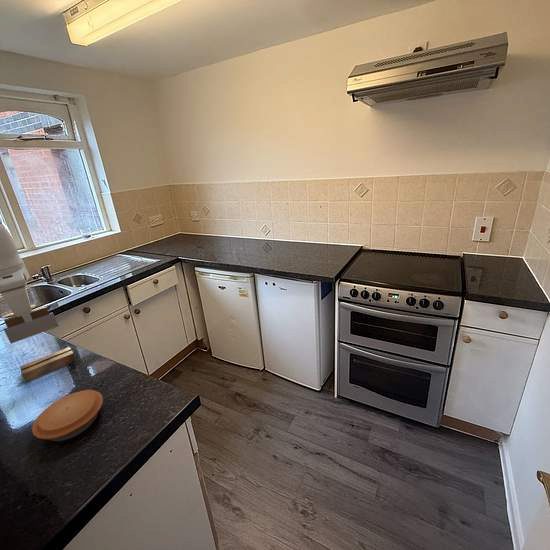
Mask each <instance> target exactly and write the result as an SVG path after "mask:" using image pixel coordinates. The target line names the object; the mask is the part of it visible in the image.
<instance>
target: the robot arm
mask: <svg viewBox="0 0 550 550" xmlns="http://www.w3.org/2000/svg"><path fill="white" fill-rule="evenodd" d="M30 278H31V276H30V273H29V271H28V269H27V267H26V264H25V262H24V260H23V259H22V258H21V256H20V255H19V251H18V246H17V243H16V241H15V239H14V237H13V235H12V233H11V232H10V230H9V229H8V227H7V226H6V224H4V223H3V222H2V221H1V220H0V295H1V297H2V299H3V300H4V302H5V303H6V305H7V306H8V308H9V309H10V311H11V312H12V313H13V316H16V317H20V316H22V317H23V319H24V321H25V322H30V321H32V317H31V315H30V313H31V312H32V310H33V308H32V304H31V301H30V298H29V294H28V290H27V285H28V281H29V279H30Z"/></svg>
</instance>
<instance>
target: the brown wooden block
mask: <svg viewBox="0 0 550 550" xmlns="http://www.w3.org/2000/svg"><path fill="white" fill-rule="evenodd" d="M30 315H31V317H32V321H30V322H25V321H24V319H23V317H22V316H20V317H16V316H15V315H13V316H10V317H7V318H3V321H4V323H5V325H6V327H4V328H3V332H4V333H5V335H6V337H7V339H8V341H9V343H10V344H11V345H12V344H14V343H17V342H20V341H23V340H26V339H29V338H32V337H34V336H36V335H40V334H42V333H44V332H47V331H50V330H52V329H55V328H58V327H60V326H59V323H58V320H57V319H56V317H55V314H54V312H53V311H52V312H49V310H48V307H47V306H46V305H44V306H41V307H38V308H35V309H32V312H31V313H30Z"/></svg>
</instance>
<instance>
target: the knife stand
mask: <svg viewBox="0 0 550 550" xmlns="http://www.w3.org/2000/svg"><path fill="white" fill-rule="evenodd" d="M76 361H77V358H76V357H75V354H74V352H73V349H72V348H71V346H68V347H65V348H62V349H60V350H58V351H55V352H53V353H50V354H48V355H45V356H42V357H40V358H38V359H34V360H32V361H30V362H27V363H25V364H22V365H20V366H19V369H20V375H21V377H22V379H23V381H24V383H27V382H30V381H32V380H34V379H36V378H40V377H41V376H44V375H46V374H48V373H50V372H53V371H55V370H58V369H60V368H63V367H65V366H67V365H69V364H72V363H74V362H76Z"/></svg>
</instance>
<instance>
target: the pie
mask: <svg viewBox="0 0 550 550" xmlns="http://www.w3.org/2000/svg"><path fill="white" fill-rule="evenodd" d="M103 404H104V396H103V395H102V393H101V392H99V391H97V390H93V389H85V390H80V391H76V392H73V393H71V394H68V395H65V396H63V397H61V398H60V399H58V400H56V401H54V402H52V403H51V404H50V405H49V406H47V407H46V408H45V409H44V410H42V411H41V413H40V414H39V415H38V416H37V417H36V419H35V420H34V422H33V424H32V427H31V431H32V435H33V436H34V437H35V438H37V439H41V440H48V441H52V442H64V441H68V440H70V439H73V438H74V437H77V436H78V435H79V436H80V435H81V434H82V433H83V432H85V431H87V429H89V428H90V427H91V426H92V425H93V423H94V422H95V421H96V419H97V417H98V415H99V412H100V411H101V408H102V406H103Z"/></svg>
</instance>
